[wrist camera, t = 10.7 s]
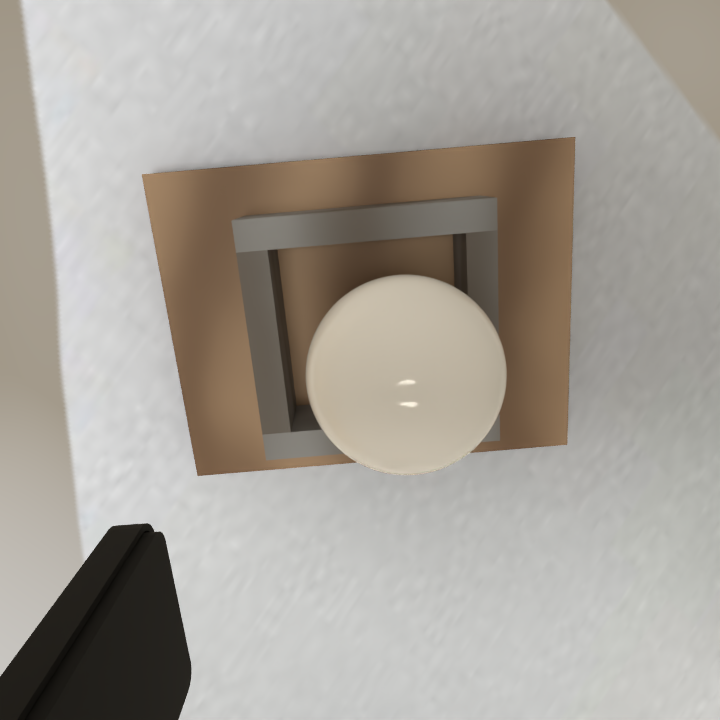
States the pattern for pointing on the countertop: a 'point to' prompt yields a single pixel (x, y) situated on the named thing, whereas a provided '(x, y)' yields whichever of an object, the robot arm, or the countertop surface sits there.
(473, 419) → the lightbulb
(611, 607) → the countertop surface
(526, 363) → the lamp socket
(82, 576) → the robot arm
